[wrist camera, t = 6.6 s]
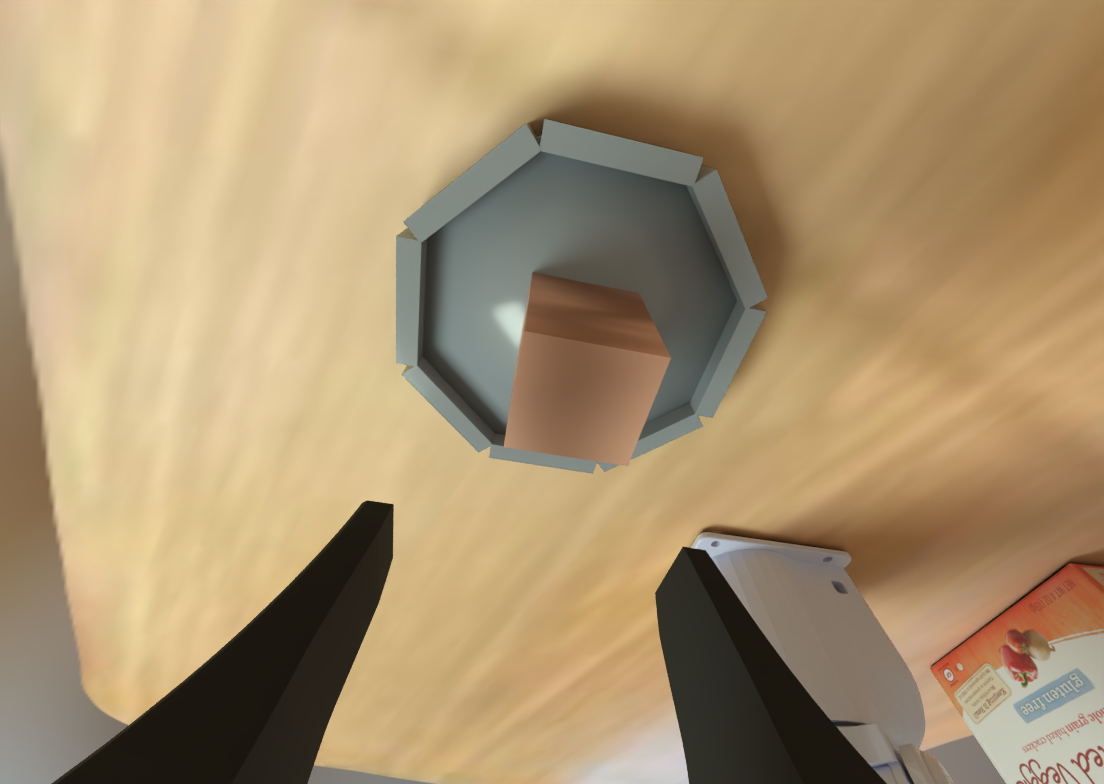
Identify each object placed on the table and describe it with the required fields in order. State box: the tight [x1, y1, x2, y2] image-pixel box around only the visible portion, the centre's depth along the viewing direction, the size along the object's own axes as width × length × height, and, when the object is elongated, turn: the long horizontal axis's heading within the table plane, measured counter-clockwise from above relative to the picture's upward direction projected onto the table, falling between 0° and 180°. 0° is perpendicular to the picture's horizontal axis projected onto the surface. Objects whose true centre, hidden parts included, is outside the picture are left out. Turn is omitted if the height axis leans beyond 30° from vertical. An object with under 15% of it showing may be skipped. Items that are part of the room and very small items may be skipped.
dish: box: [396, 119, 768, 474], centre depth 16 cm, size 13×13×2 cm
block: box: [504, 272, 671, 466], centre depth 14 cm, size 4×4×5 cm
